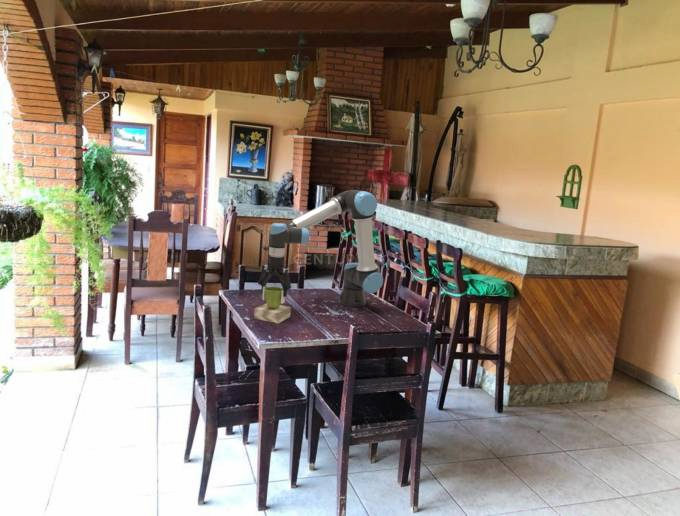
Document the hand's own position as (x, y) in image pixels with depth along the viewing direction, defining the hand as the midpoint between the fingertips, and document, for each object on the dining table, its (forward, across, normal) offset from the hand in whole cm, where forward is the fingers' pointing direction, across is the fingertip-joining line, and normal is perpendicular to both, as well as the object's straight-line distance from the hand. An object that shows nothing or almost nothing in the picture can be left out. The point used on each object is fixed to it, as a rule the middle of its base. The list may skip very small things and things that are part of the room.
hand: (273, 301), depth 256 cm
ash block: (+8, 0, 0) cm, 8 cm away
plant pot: (+3, 0, 0) cm, 3 cm away
